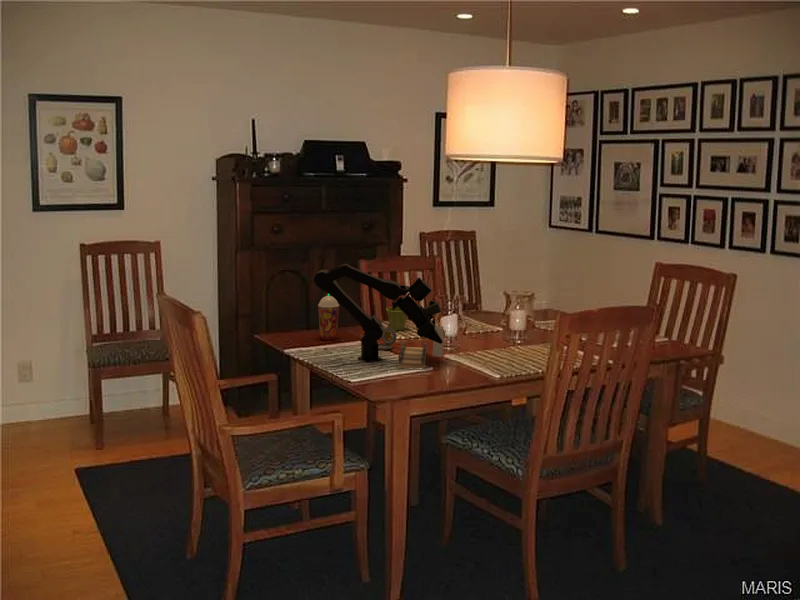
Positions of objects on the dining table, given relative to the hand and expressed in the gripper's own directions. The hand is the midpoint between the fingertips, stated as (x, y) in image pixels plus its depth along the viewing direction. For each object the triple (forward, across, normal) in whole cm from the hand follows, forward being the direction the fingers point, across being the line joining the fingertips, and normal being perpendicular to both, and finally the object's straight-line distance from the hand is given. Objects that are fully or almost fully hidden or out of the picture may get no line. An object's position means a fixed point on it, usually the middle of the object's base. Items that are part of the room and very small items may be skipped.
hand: (442, 341), depth 307 cm
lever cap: (+3, 0, +5) cm, 5 cm away
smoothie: (-26, +31, +38) cm, 55 cm away
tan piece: (-2, 0, +13) cm, 13 cm away
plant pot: (-8, +51, +19) cm, 55 cm away
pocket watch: (-10, +18, +21) cm, 29 cm away
